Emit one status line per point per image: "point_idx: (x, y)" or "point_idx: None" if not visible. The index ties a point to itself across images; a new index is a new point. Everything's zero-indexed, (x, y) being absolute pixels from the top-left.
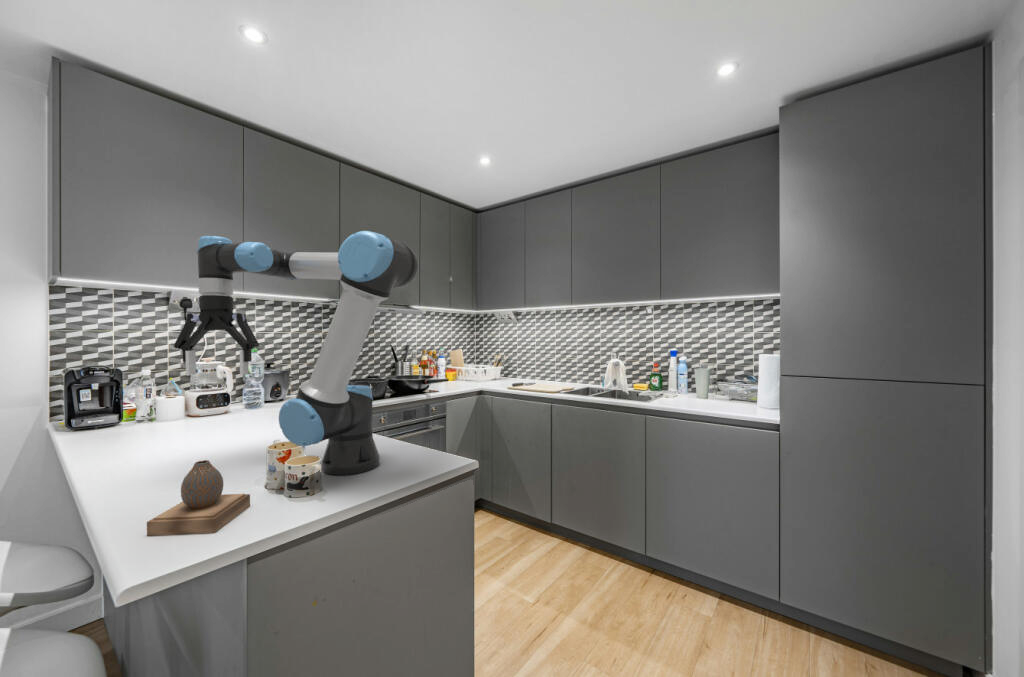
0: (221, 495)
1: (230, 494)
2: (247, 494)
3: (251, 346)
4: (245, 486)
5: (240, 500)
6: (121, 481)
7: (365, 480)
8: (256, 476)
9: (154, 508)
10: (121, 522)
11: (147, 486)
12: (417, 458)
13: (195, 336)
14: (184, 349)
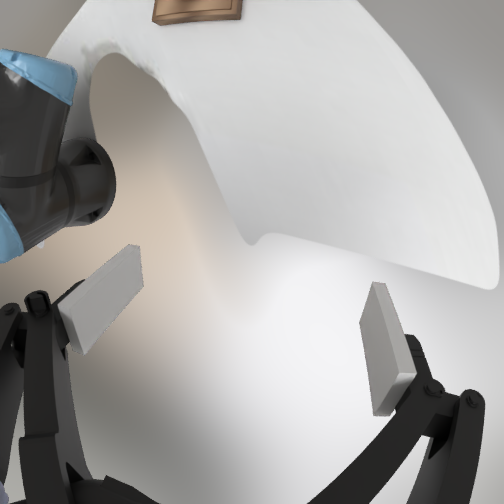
0: (185, 8)
1: (174, 12)
2: (154, 20)
3: (14, 306)
4: (201, 100)
5: (155, 1)
6: (436, 185)
7: None
8: (205, 150)
9: (301, 28)
10: None
11: (381, 139)
12: None
13: (359, 470)
14: (425, 383)
